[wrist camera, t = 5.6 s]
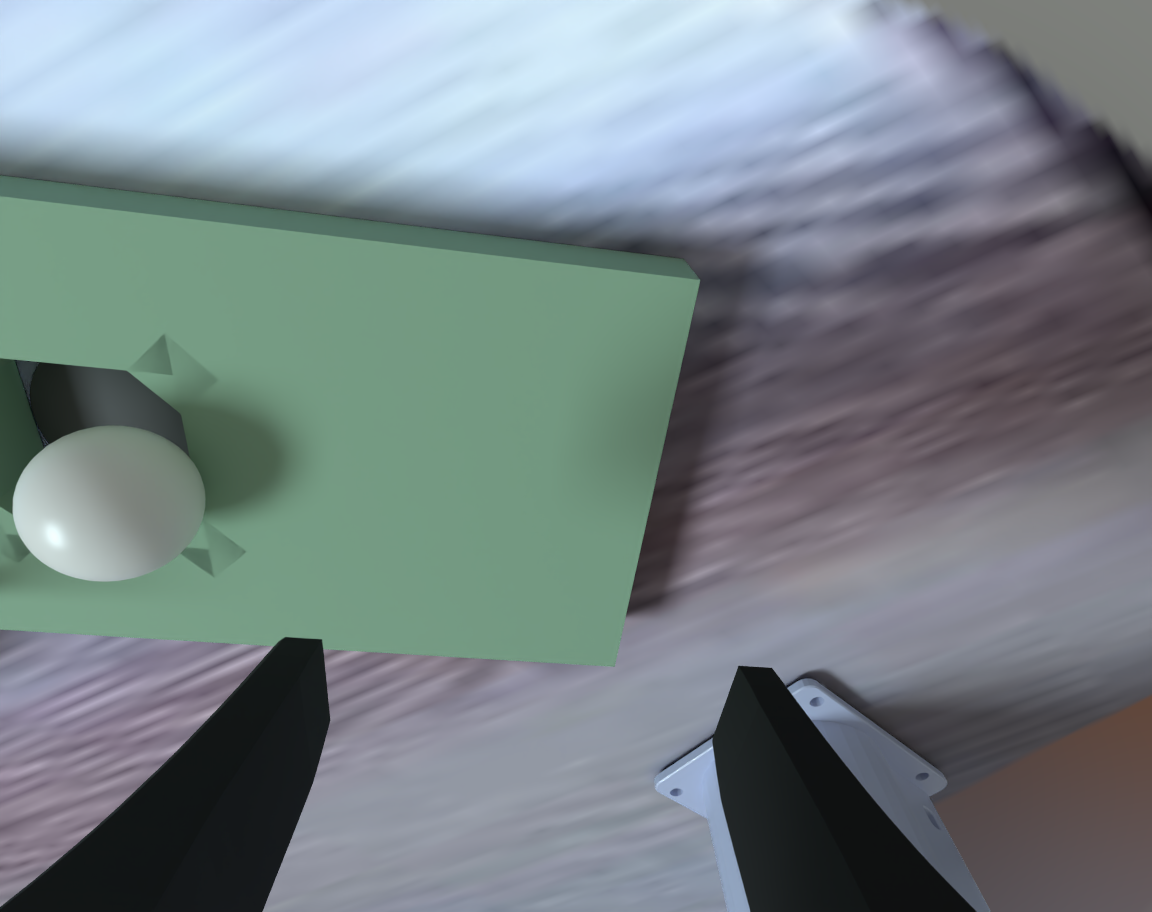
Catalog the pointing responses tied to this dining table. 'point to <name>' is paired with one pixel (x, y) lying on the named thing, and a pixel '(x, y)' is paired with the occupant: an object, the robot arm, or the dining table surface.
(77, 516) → the golf ball
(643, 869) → the dining table surface
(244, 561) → the putting mat
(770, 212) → the dining table surface
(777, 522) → the dining table surface
